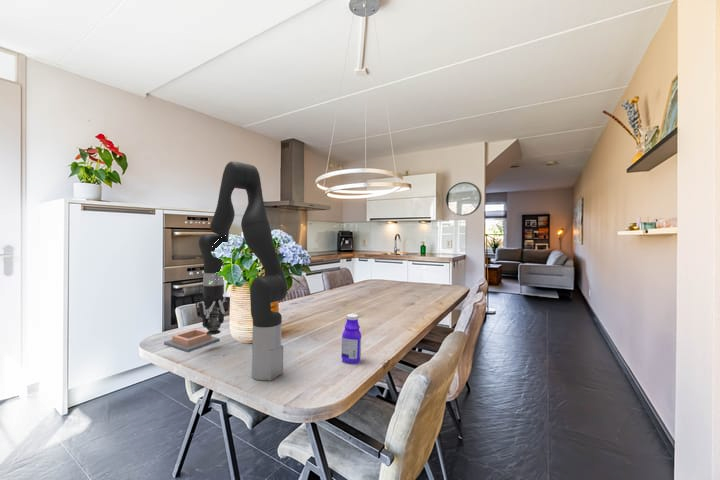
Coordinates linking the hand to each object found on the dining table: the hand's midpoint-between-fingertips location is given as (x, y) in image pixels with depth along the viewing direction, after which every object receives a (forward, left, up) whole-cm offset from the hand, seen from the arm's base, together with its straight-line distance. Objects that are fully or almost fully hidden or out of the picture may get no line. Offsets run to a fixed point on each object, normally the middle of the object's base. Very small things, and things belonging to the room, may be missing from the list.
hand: (213, 324), depth 116 cm
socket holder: (+13, 0, -10) cm, 16 cm away
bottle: (-54, -18, -10) cm, 57 cm away
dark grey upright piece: (0, 0, -3) cm, 3 cm away
